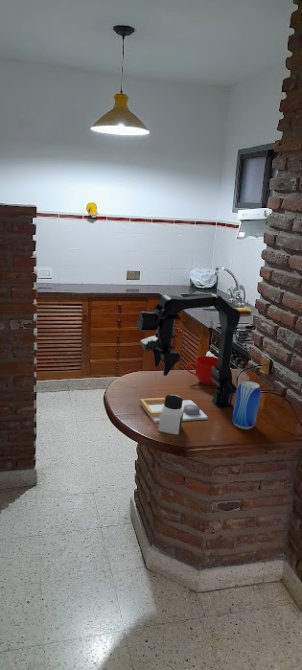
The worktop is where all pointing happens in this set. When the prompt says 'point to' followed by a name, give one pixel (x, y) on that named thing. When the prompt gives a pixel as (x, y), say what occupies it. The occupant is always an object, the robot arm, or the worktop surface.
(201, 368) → the ceramic cup
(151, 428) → the worktop surface
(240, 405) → the beer can
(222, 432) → the worktop surface
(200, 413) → the plate with orange frame
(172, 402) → the medicine bottle
